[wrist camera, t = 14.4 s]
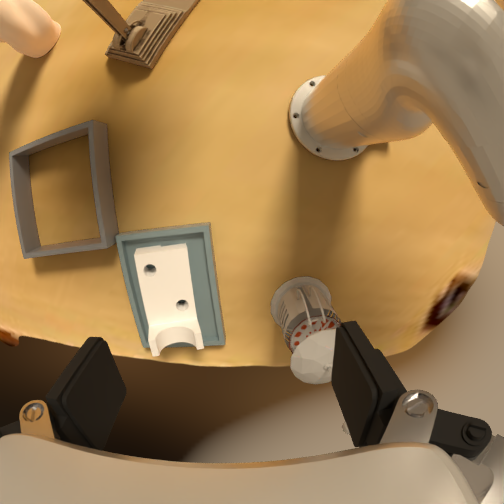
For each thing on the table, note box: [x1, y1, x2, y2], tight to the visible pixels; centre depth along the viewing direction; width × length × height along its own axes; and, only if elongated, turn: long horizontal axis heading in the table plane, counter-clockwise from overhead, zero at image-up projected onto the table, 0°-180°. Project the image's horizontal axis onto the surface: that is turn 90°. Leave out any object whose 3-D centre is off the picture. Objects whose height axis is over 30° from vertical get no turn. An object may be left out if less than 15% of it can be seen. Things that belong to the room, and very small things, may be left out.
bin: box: [9, 120, 119, 259], centre depth 34 cm, size 18×18×4 cm
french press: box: [271, 276, 350, 435], centre depth 31 cm, size 10×12×25 cm
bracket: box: [134, 243, 204, 356], centre depth 37 cm, size 13×7×8 cm, turn 3°
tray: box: [115, 222, 226, 348], centre depth 40 cm, size 14×19×2 cm
